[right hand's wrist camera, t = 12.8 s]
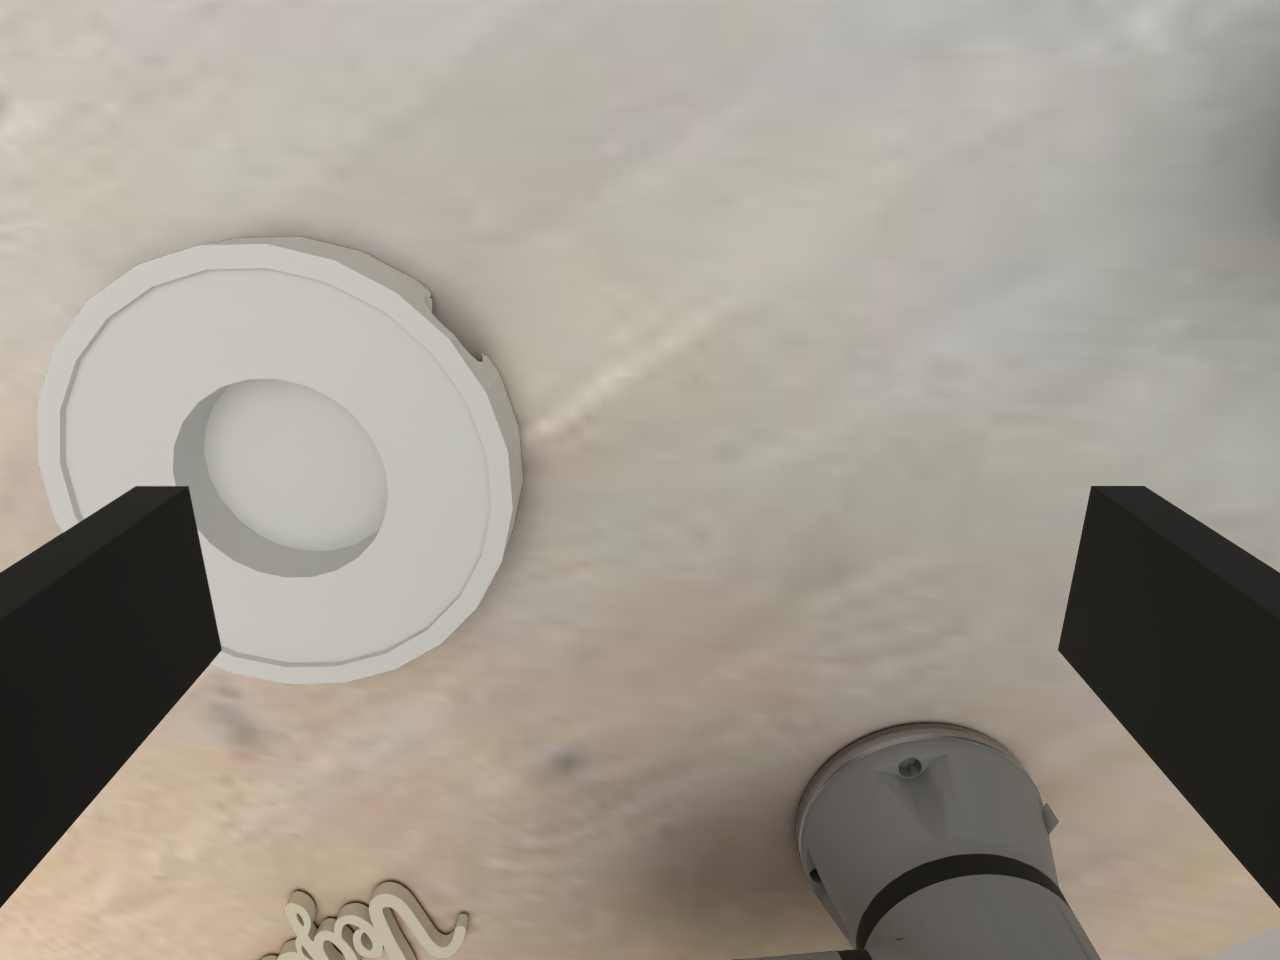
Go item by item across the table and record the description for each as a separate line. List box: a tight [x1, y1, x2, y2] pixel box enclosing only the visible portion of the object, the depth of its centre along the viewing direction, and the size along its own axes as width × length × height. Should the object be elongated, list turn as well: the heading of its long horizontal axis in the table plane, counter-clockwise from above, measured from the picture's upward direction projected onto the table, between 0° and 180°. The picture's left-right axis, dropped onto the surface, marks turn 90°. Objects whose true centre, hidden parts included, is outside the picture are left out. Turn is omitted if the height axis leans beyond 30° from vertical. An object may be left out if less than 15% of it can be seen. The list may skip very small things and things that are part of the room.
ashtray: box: [37, 236, 523, 684], centre depth 43 cm, size 23×23×4 cm
